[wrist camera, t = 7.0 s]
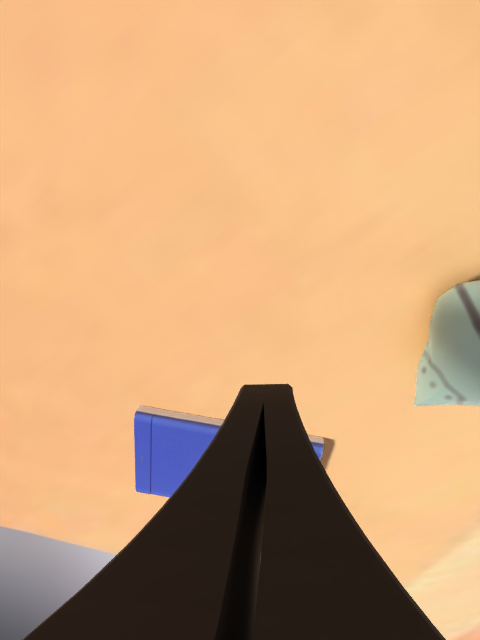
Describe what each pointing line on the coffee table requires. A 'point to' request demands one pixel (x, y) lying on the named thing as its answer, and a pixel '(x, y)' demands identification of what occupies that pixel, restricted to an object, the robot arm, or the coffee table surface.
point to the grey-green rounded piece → (452, 350)
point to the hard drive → (174, 447)
